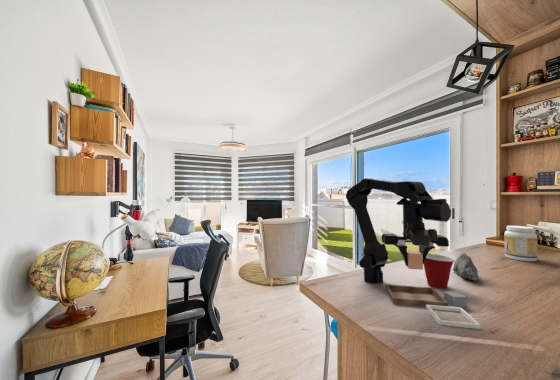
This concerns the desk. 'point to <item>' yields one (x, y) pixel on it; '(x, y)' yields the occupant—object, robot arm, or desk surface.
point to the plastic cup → (438, 270)
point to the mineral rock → (465, 267)
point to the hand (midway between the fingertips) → (413, 265)
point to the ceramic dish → (453, 323)
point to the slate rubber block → (455, 299)
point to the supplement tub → (521, 243)
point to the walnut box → (414, 295)
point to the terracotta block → (415, 260)
